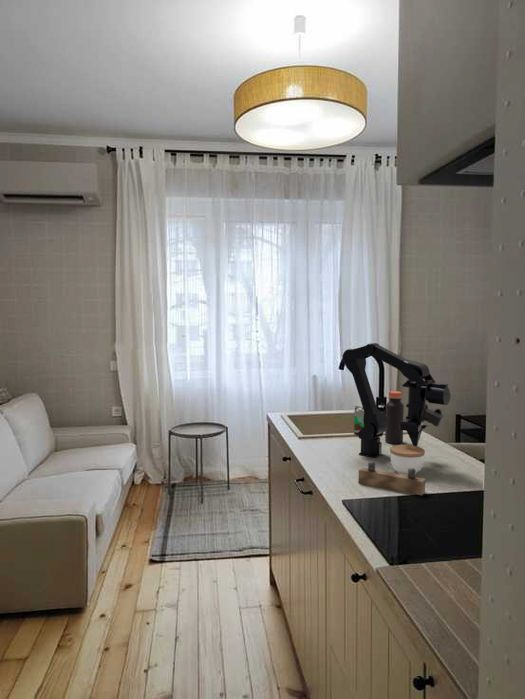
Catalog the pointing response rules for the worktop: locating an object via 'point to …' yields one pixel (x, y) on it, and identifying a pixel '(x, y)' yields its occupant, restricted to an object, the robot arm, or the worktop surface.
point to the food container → (358, 419)
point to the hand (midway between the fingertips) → (415, 446)
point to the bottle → (394, 418)
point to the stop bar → (392, 480)
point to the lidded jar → (406, 458)
